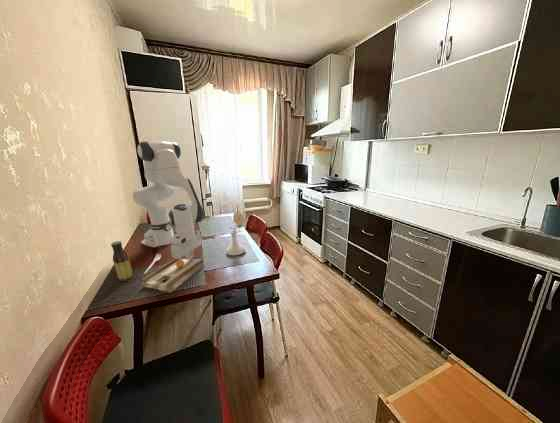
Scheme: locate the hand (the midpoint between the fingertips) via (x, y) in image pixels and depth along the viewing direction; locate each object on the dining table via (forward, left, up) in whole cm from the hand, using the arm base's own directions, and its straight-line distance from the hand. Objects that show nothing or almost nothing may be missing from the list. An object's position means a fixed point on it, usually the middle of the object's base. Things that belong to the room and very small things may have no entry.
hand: (190, 258), depth 126 cm
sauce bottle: (-23, -20, -4) cm, 31 cm away
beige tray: (0, -11, -4) cm, 12 cm away
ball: (0, -7, +1) cm, 7 cm away
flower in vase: (+18, +20, -4) cm, 27 cm away
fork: (-22, -5, -4) cm, 23 cm away
